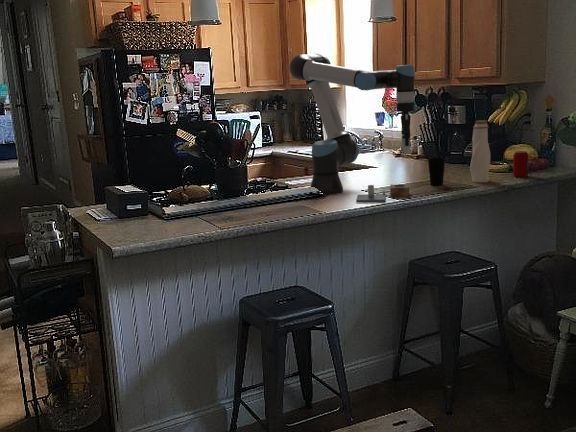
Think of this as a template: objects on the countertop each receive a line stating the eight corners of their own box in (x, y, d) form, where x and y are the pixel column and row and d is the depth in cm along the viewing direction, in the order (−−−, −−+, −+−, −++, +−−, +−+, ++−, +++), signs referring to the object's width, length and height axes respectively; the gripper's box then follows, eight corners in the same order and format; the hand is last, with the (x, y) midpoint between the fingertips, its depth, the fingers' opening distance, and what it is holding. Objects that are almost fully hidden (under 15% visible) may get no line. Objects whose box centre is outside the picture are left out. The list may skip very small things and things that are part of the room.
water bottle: (464, 180, 302) (465, 121, 296) (480, 178, 305) (481, 119, 299) (478, 183, 293) (478, 122, 287) (494, 181, 296) (495, 120, 290)
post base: (356, 202, 265) (355, 188, 264) (357, 197, 277) (357, 183, 275) (385, 202, 263) (385, 187, 262) (385, 196, 274) (385, 182, 273)
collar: (390, 197, 273) (390, 187, 272) (390, 193, 281) (390, 184, 280) (409, 196, 272) (409, 187, 271) (409, 193, 280) (408, 184, 279)
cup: (445, 186, 291) (445, 159, 288) (428, 186, 293) (428, 160, 290) (444, 183, 298) (444, 157, 296) (428, 183, 300) (427, 158, 297)
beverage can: (531, 176, 302) (531, 151, 300) (519, 178, 300) (520, 152, 297) (521, 174, 308) (521, 150, 306) (509, 176, 306) (510, 151, 303)
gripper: (416, 103, 259) (416, 155, 264) (412, 100, 283) (412, 147, 288) (398, 104, 260) (398, 155, 265) (395, 100, 284) (395, 148, 289)
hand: (405, 151), depth 276 cm, fingers open, 13 cm apart
